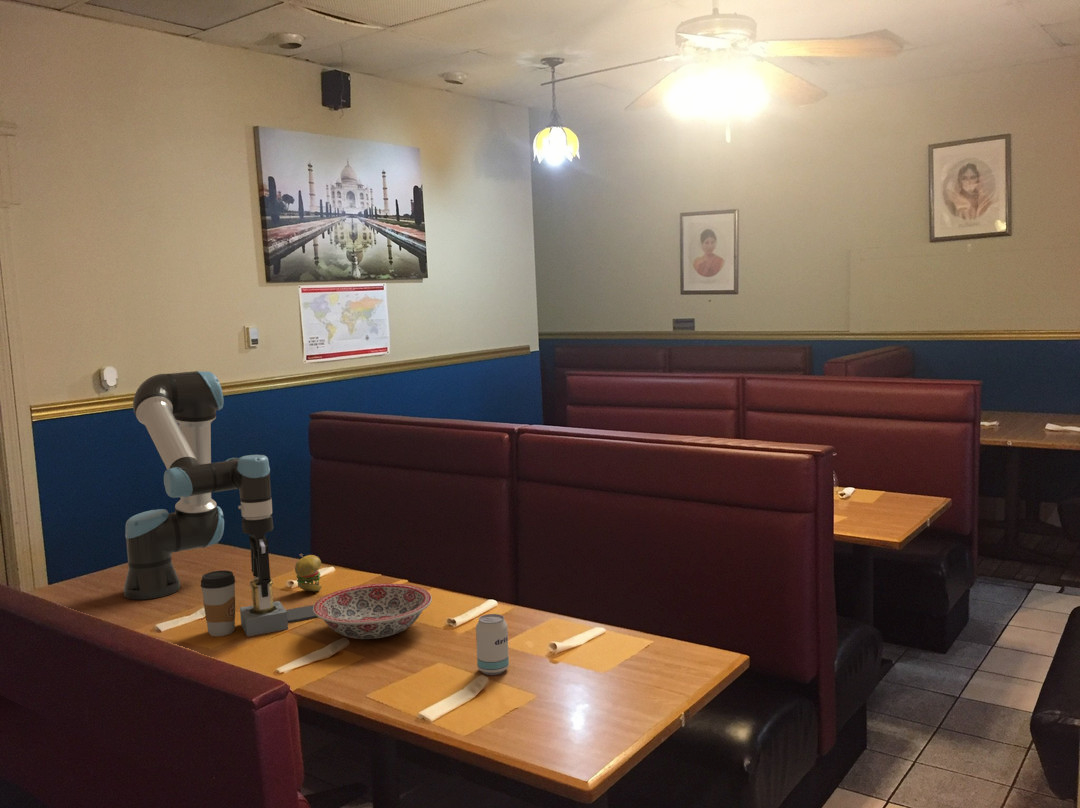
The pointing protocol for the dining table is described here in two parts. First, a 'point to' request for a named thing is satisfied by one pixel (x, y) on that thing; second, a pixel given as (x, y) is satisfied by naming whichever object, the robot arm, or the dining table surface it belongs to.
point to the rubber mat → (300, 614)
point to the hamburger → (308, 572)
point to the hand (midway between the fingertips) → (262, 604)
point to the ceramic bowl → (372, 609)
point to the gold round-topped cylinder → (256, 598)
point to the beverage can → (492, 644)
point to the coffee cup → (219, 602)
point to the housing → (263, 620)
